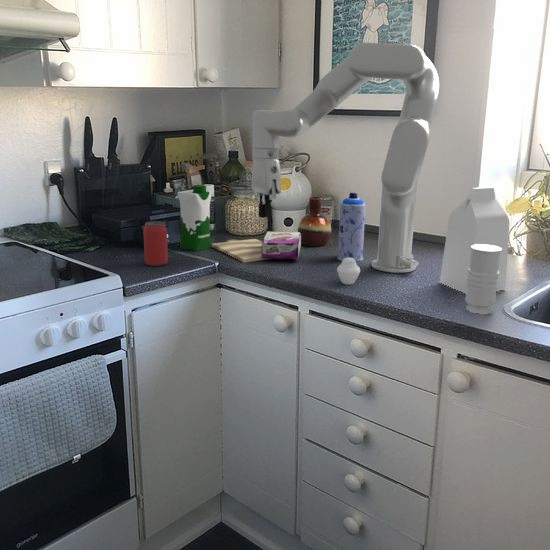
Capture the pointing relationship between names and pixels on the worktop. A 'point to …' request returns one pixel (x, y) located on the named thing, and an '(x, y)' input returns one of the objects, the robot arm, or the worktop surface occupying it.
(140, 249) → the worktop surface
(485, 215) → the milk
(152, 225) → the beer can
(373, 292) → the worktop surface
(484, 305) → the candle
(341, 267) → the white rounded jar
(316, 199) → the vase
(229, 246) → the cutting board
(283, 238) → the candy bar box
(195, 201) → the milk carton
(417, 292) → the worktop surface
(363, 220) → the aerosol can
